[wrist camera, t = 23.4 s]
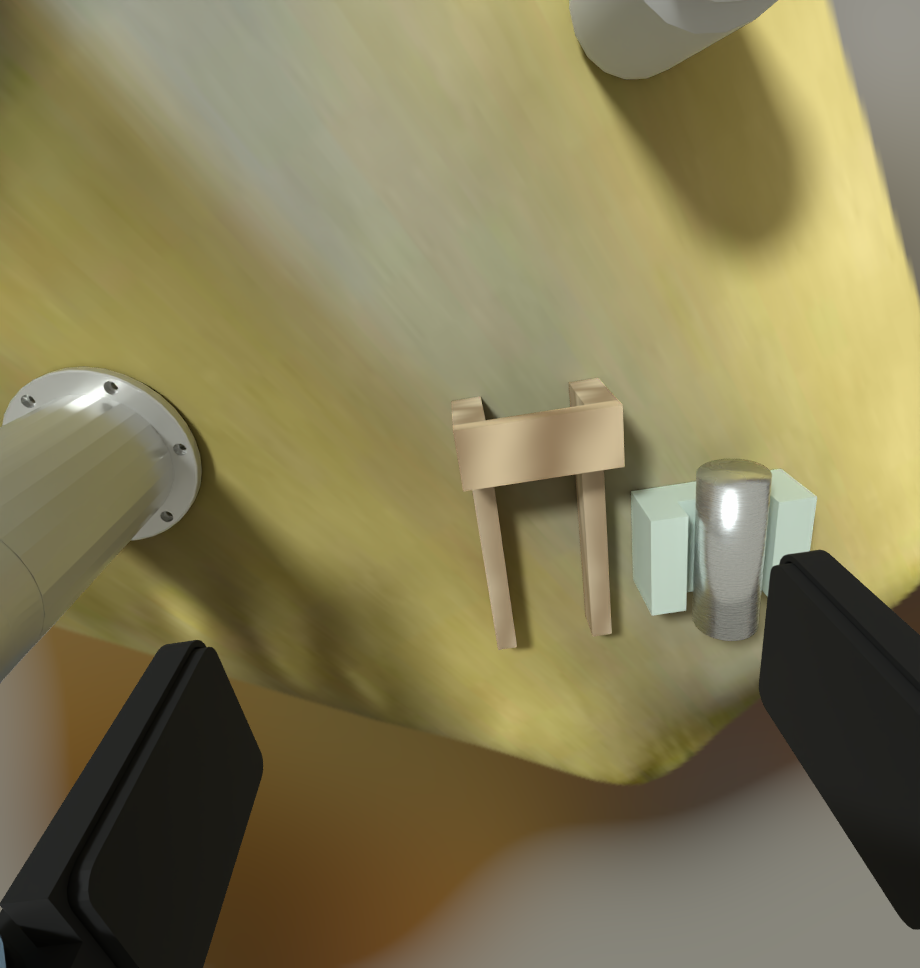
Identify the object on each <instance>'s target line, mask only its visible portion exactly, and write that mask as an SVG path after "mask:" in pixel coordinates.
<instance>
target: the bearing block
mask: <svg viewBox="0 0 920 968" xmlns="http://www.w3.org/2000/svg"><path fill="white" fill-rule="evenodd" d="M569 396H570V407H568V408H562V409H556V410H549V411H543V412H537V413H530V414H524V415H517V416H511V417H505V418H498V419H492V420H485V416H484V411H483V406H482V401H481V397H474V398H467V399H461V400H455V401H451V405H452V421H453V433H454V439H455V445H456V451H457V457H458V463H459V469H460V475H461V481H462V486H463V491H469V490H472V491H473V497H474V503H475V509H476V515H477V522H478V528H479V534H480V540H481V546H482V553H483V559H484V565H485V571H486V577H487V584H488V590H489V596H490V602H491V608H492V614H493V621H494V627H495V633H496V639H497V645H498V650H500V649H507V648H514V647H517V643H516V636H515V629H514V622H513V615H512V608H511V601H510V594H509V587H508V580H507V573H506V566H505V559H504V552H503V545H502V538H501V531H500V524H499V517H498V510H497V503H496V496H495V489H494V487H495V486H502V485H508V484H515V483H522V482H528V481H535V480H541V479H548V478H554V477H561V476H568V475H574V474H575V478H576V492H577V506H578V520H579V534H580V547H581V561H582V575H583V589H584V603H585V616H586V619H587V622H588V625H589V627H590V630H591V633H592V636H599V635H606V634H612V629H611V608H610V587H609V566H608V545H607V525H606V504H605V483H604V470H607V469H614V468H620V467H625V462H624V429H623V405H622V404H621V403H620V401H619V400H618V399H617V398H616V397H615V396H614V395H613V394H612V393H611V391H610V390H609V389H608V388H607V387H606V386H605V385H604V384H603V383H602V382H601V380H600V379H599V378H594V379H587V380H581V381H575V382H569Z"/></svg>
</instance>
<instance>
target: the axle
mask: <svg viewBox="0 0 920 968" xmlns="http://www.w3.org/2000/svg"><path fill="white" fill-rule="evenodd" d="M771 482H772V473H771V471H770V470H769V469H768V468H767V467H765V466H764V465H761V464H759V463H756V462H753V461H748V460H742V459H720V460H715V461H711V462H708V463H705V464H703V465H701V466H700V467H699V468H698V469H697V472H696V502H695V538H694V573H693V609H692V619H693V622H694V624H695V626H696V627H697V628H698V629H699V630H700V631H701V632H703V633H704V634H706V635H708V636H710V637H713V638H716V639H720V640H726V641H737V640H743V639H746V638H749V637H750V636H752V635H753V634H754V633H755V632H756V631H757V629H758V622H759V612H760V601H761V590H762V579H763V568H764V558H765V547H766V536H767V525H768V514H769V503H770V493H771Z"/></svg>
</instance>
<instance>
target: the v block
mask: <svg viewBox="0 0 920 968" xmlns="http://www.w3.org/2000/svg"><path fill="white" fill-rule="evenodd" d="M770 471H771V473H772V482H771V493H770V503H769V514H768V525H767V536H766V547H765V558H764V568H763V579H762V591H763V592H764V593H765V594H766V596H767V597H768V589H769V579H770V572H771V569H772V567H773V566H775V565H779V563H780V560H781V558H782V557H783V556H784V555H787V554H794V553H801V552H808V551H810V546H811V538H812V531H813V524H814V516H815V509H816V501H817V496H815V495H814V494H813V493H812V492H810V491H809V490H808V489H806V488H805V487H804V486H803V485H801V484H800V483H799V482H798V481H796V480H795V479H794V478H792V477H791V476H790V475H789V474H787V473H786V472H785V471H783V470H782V469H775V470H770ZM695 502H696V482H689V483H682V484H676V485H669V486H662V487H656V488H649V489H642V490H636V491H631V515H632V554H633V580H634V582H635V584H636V586H637V588H638V590H639V592H640V594H641V596H642V598H643V599H644V601H645V603H646V605H647V607H648V609H649V611H650V613H651V615H659V614H666V613H673V612H680V611H686V594H687V592H693V573H694V538H695Z"/></svg>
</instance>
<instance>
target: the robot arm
mask: <svg viewBox="0 0 920 968" xmlns="http://www.w3.org/2000/svg"><path fill="white" fill-rule="evenodd" d="M115 384H116V385H117V386H116V385H115ZM183 445H184V446H185V447H183ZM201 475H202V466H201V458H200V453H199V450H198V447H197V444H196V441H195V438H194V436H193V434H192V433H191V431H190V429H189V427H188V425H187V424H186V422H185V421H184V420H183V418H182V417H181V416H180V414H179V413H178V412H177V411H176V409H175V408H174V407H173V406H172V405H171V404H169V403H168V402H167V401H166V400H165V399H164V398H163V397H162V396H161V395H160V394H158V393H157V392H155V391H154V390H152V389H151V388H149V387H148V386H146V385H145V384H143V383H141V382H139V381H137V380H135V379H133V378H131V377H129V376H126V375H124V374H121V373H117V372H114V371H111V370H107V369H102V368H93V367H71V368H64V369H60V370H57V371H53V372H50V373H47V374H45V375H43V376H41V377H39V378H36V379H34V380H33V381H31V382H30V383H28V384H27V385H26V386H24V387H23V388H21V389H20V390H19V392H18V393H17V394H16V395H15V396H14V398H13V399H12V400H11V401H10V403H9V406H8V408H7V410H6V412H5V414H4V419H3V424H2V427H0V683H1V682H2V680H3V679H4V678H5V677H6V676H7V675H8V674H9V673H10V672H11V671H12V669H13V668H14V667H15V666H16V665H17V664H18V663H19V662H20V661H21V659H22V658H23V657H24V656H25V655H26V654H27V653H28V652H29V651H30V650H31V648H32V647H33V646H34V645H35V644H36V643H37V642H38V641H39V640H40V639H41V638H42V637H43V636H44V635H45V634H46V633H47V631H48V630H49V629H50V628H51V627H52V626H53V625H54V624H55V623H56V622H57V620H58V619H59V618H60V617H61V616H62V615H63V614H64V613H65V612H66V611H67V610H68V608H69V607H70V606H71V605H72V604H73V603H74V602H75V601H76V600H77V599H78V597H79V596H80V595H81V594H82V593H83V592H84V591H85V590H86V589H87V588H88V586H89V585H90V584H91V583H92V582H93V581H94V580H95V579H96V578H97V577H98V575H99V574H100V573H101V572H102V571H103V570H104V569H105V568H106V567H107V566H108V564H109V563H110V562H111V561H112V560H113V559H114V558H115V557H116V556H117V555H118V553H119V552H120V551H121V550H122V549H123V548H124V547H125V546H126V545H127V544H128V542H129V541H130V540H140V539H144V538H148V537H152V536H155V535H157V534H160V533H162V532H164V531H166V530H168V529H169V528H171V527H172V526H173V525H175V524H176V523H177V522H179V521H180V519H181V518H182V517H183V516H184V515H185V514H186V513H187V511H188V510H189V509H190V507H191V506H192V504H193V502H194V501H195V499H196V497H197V494H198V491H199V488H200V485H201ZM759 692H760V696H761V700H762V702H763V705H764V707H765V709H766V710H767V712H768V713H769V715H770V716H771V718H772V720H773V721H774V722H775V724H776V726H777V727H778V729H779V730H780V732H781V734H782V735H783V737H784V738H785V739H786V741H787V743H788V744H789V746H790V748H791V749H792V751H793V752H794V754H795V755H796V757H797V758H798V760H799V761H800V763H801V765H802V766H803V768H804V769H805V771H806V772H807V774H808V776H809V777H810V779H811V780H812V782H813V783H814V785H815V786H816V788H817V789H818V791H819V793H820V794H821V795H822V797H823V799H824V800H825V802H826V803H827V805H828V806H829V808H830V809H831V811H832V813H833V814H834V816H835V817H836V819H837V821H838V822H839V824H840V825H841V827H842V828H843V830H844V831H845V833H846V835H847V836H848V838H849V839H850V841H851V842H852V844H853V845H854V847H855V848H856V850H857V852H858V853H859V855H860V856H861V857H862V859H863V861H864V862H865V864H866V866H867V867H868V869H869V870H870V872H871V873H872V875H873V876H874V878H875V879H876V881H877V883H878V884H879V886H880V887H881V889H882V890H883V892H884V893H885V895H886V897H887V898H888V900H889V901H890V903H891V904H892V906H893V907H894V909H895V911H896V912H897V914H898V915H899V916H900V918H901V919H902V920H903V921H904V922H905V923H906V924H907V925H908V926H909V927H910V928H912V929H920V635H919V634H918V633H917V632H915V631H914V630H913V629H912V628H911V627H910V626H909V625H908V624H907V623H906V622H904V621H903V620H902V619H901V618H900V617H899V616H898V615H897V614H896V613H894V612H893V611H892V610H891V609H890V608H889V607H888V606H887V605H886V604H884V603H883V602H882V601H881V600H880V599H879V598H878V597H877V596H876V595H874V594H873V593H872V592H871V591H870V590H869V589H868V588H867V587H866V586H864V585H863V584H862V583H861V582H860V581H859V580H858V579H857V578H856V577H854V576H853V575H852V574H851V573H850V572H849V571H848V570H847V569H846V568H844V567H843V566H842V565H841V564H840V563H839V562H838V561H837V560H836V559H835V558H833V557H832V556H831V555H830V554H829V553H827V552H826V551H824V550H815V551H808V552H801V553H794V554H787V555H784V556H783V557H782V558H781V560H780V563H779V565H775V566H773V567H772V569H771V572H770V579H769V589H768V599H767V609H766V619H765V629H764V639H763V649H762V659H761V668H760V678H759ZM262 773H263V759H262V754H261V752H260V749H259V747H258V745H257V742H256V740H255V738H254V736H253V734H252V731H251V729H250V727H249V724H248V723H247V720H246V718H245V716H244V713H243V711H242V709H241V706H240V704H239V702H238V700H237V697H236V695H235V693H234V691H233V688H232V686H231V684H230V681H229V679H228V677H227V675H226V672H225V670H224V668H223V666H222V663H221V661H220V659H219V657H218V654H217V652H216V651H215V649H213V648H212V647H206V646H205V644H204V643H203V642H202V641H200V640H194V641H187V642H180V643H173V644H166V645H164V646H162V647H161V648H160V649H159V650H158V652H157V653H156V655H155V656H154V658H153V660H152V661H151V663H150V664H149V666H148V668H147V669H146V671H145V672H144V674H143V676H142V677H141V679H140V680H139V682H138V684H137V685H136V687H135V688H134V690H133V691H132V693H131V695H130V696H129V698H128V700H127V701H126V703H125V704H124V706H123V708H122V709H121V711H120V712H119V714H118V716H117V717H116V719H115V720H114V722H113V724H112V725H111V727H110V728H109V730H108V731H107V733H106V735H105V736H104V738H103V739H102V741H101V743H100V744H99V746H98V747H97V749H96V751H95V752H94V754H93V755H92V757H91V759H90V760H89V762H88V763H87V765H86V767H85V768H84V770H83V771H82V773H81V775H80V776H79V778H78V780H77V781H76V783H75V784H74V786H73V787H72V789H71V791H70V792H69V794H68V796H67V797H66V799H65V800H64V802H63V803H62V805H61V807H60V808H59V810H58V812H57V813H56V815H55V816H54V818H53V819H52V821H51V823H50V824H49V826H48V827H47V829H46V831H45V832H44V834H43V835H42V837H41V839H40V840H39V842H38V843H37V845H36V847H35V848H34V850H33V851H32V853H31V854H30V856H29V858H28V860H27V861H26V862H25V864H24V866H23V867H22V869H21V870H20V872H19V874H18V875H17V877H16V878H15V880H14V882H13V883H12V885H11V887H10V888H9V890H8V891H7V893H6V895H5V896H4V898H3V899H2V901H1V902H0V906H1V907H2V908H3V909H2V911H1V912H0V968H203V966H204V962H205V959H206V956H207V953H208V950H209V946H210V943H211V940H212V937H213V933H214V930H215V927H216V924H217V920H218V917H219V914H220V911H221V907H222V904H223V901H224V898H225V894H226V891H227V888H228V885H229V881H230V878H231V875H232V872H233V868H234V865H235V862H236V859H237V855H238V852H239V848H240V845H241V842H242V839H243V836H244V833H245V830H246V826H247V823H248V820H249V816H250V813H251V810H252V807H253V804H254V800H255V797H256V794H257V791H258V787H259V784H260V781H261V777H262Z"/></svg>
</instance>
